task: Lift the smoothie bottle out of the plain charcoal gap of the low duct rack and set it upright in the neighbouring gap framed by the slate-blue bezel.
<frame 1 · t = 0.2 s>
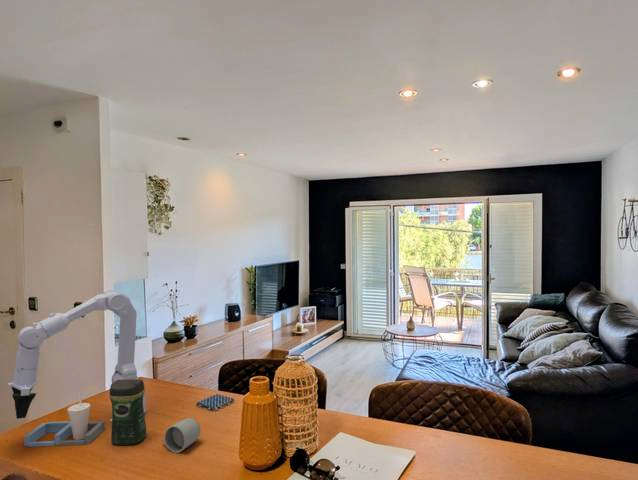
hand: (20, 413, 127), 11 cm above the table, tool pointing down, fingers open, 7 cm apart
grey hollow cylinder: (179, 446, 126), on the table
coffee jar: (129, 440, 131), on the table
woven mat: (215, 406, 156), on the table
smoothie: (80, 437, 133), resting in duct rack
duct rack: (65, 437, 133), on the table
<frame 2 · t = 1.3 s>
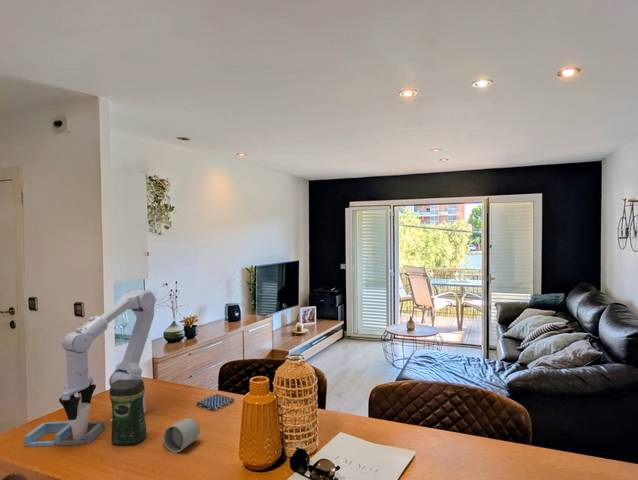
hand: (79, 414, 133), 7 cm above the table, tool pointing down, fingers open, 7 cm apart
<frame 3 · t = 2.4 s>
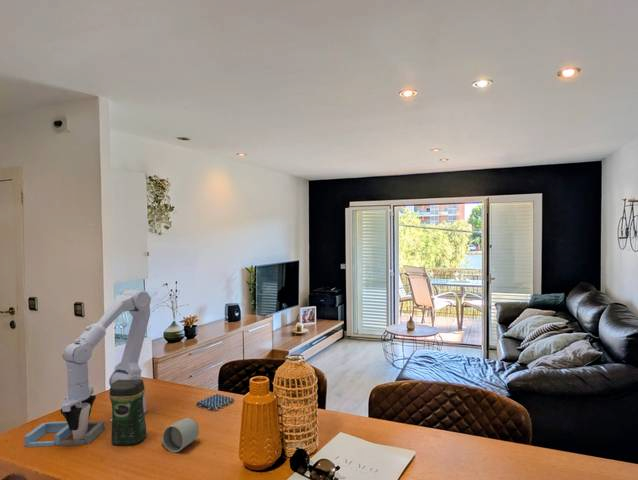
hand: (79, 424, 133), 4 cm above the table, tool pointing down, fingers closed on smoothie, 6 cm apart
smoothie: (80, 437, 133), resting in duct rack, touching gripper
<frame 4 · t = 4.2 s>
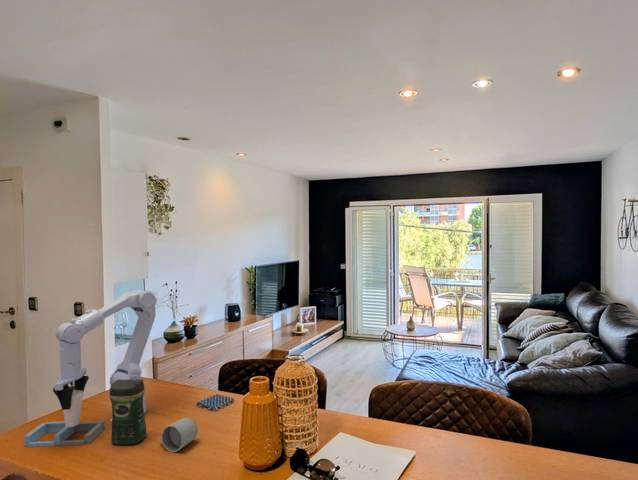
hand: (72, 404, 133), 10 cm above the table, tool pointing down, fingers closed on smoothie, 6 cm apart
smoothie: (72, 425, 133), point 4 cm above the table, touching gripper
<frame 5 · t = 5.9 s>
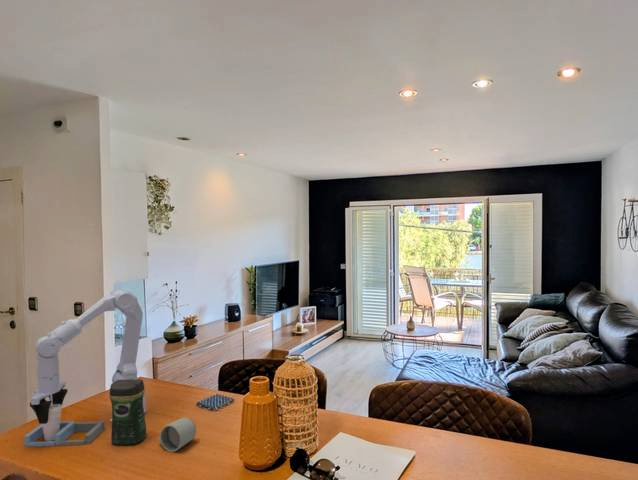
hand: (50, 418, 133), 6 cm above the table, tool pointing down, fingers closed on smoothie, 6 cm apart
smoothie: (51, 439, 133), resting in duct rack, touching gripper
when the fingers open (5 cm above the table, at t = 6.9 s): smoothie stays where it is, resting in duct rack.
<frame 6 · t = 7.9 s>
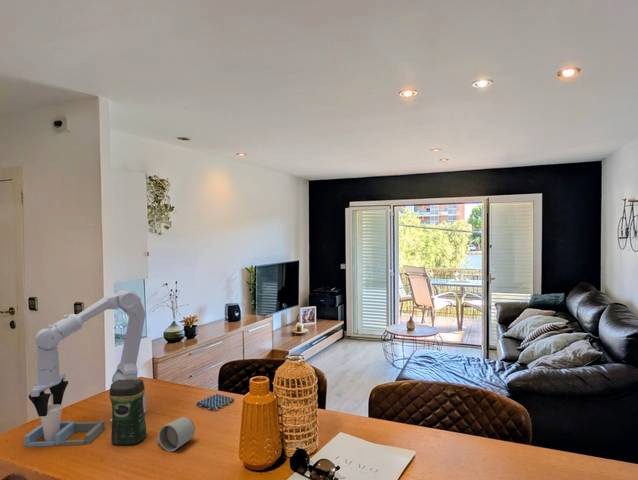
hand: (50, 410, 133), 9 cm above the table, tool pointing down, fingers open, 7 cm apart
smoothie: (51, 439, 133), resting in duct rack
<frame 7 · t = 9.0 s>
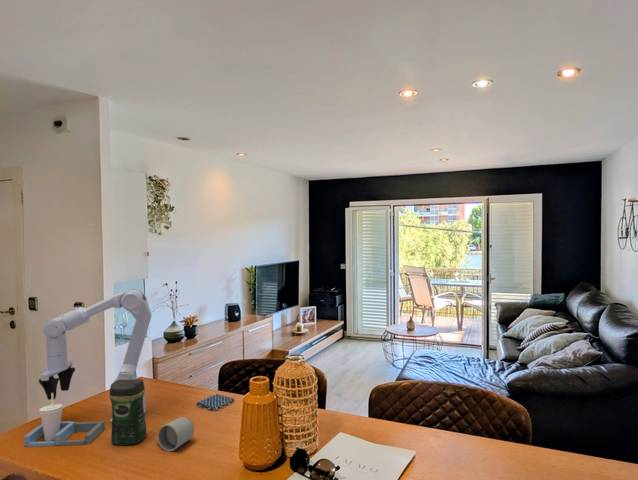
hand: (58, 394, 142), 10 cm above the table, tool pointing down, fingers open, 7 cm apart
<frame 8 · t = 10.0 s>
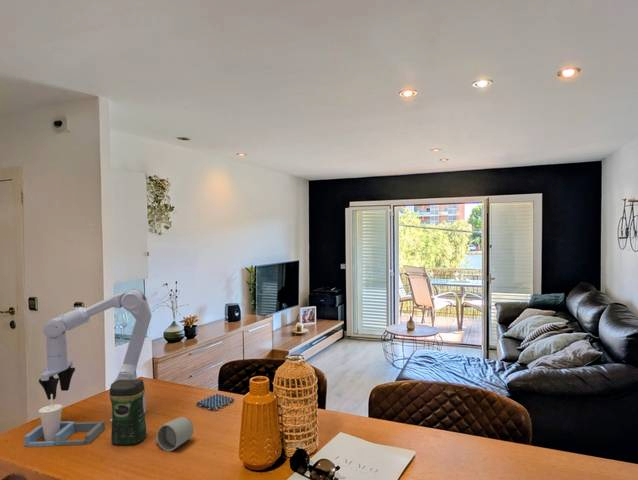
hand: (58, 394, 142), 10 cm above the table, tool pointing down, fingers open, 7 cm apart
at the end: smoothie 0.6 cm from the target spot on the duct rack, point 0.0 cm above the duct rack's base; smoothie tilted 1°; the gripper is holding nothing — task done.
